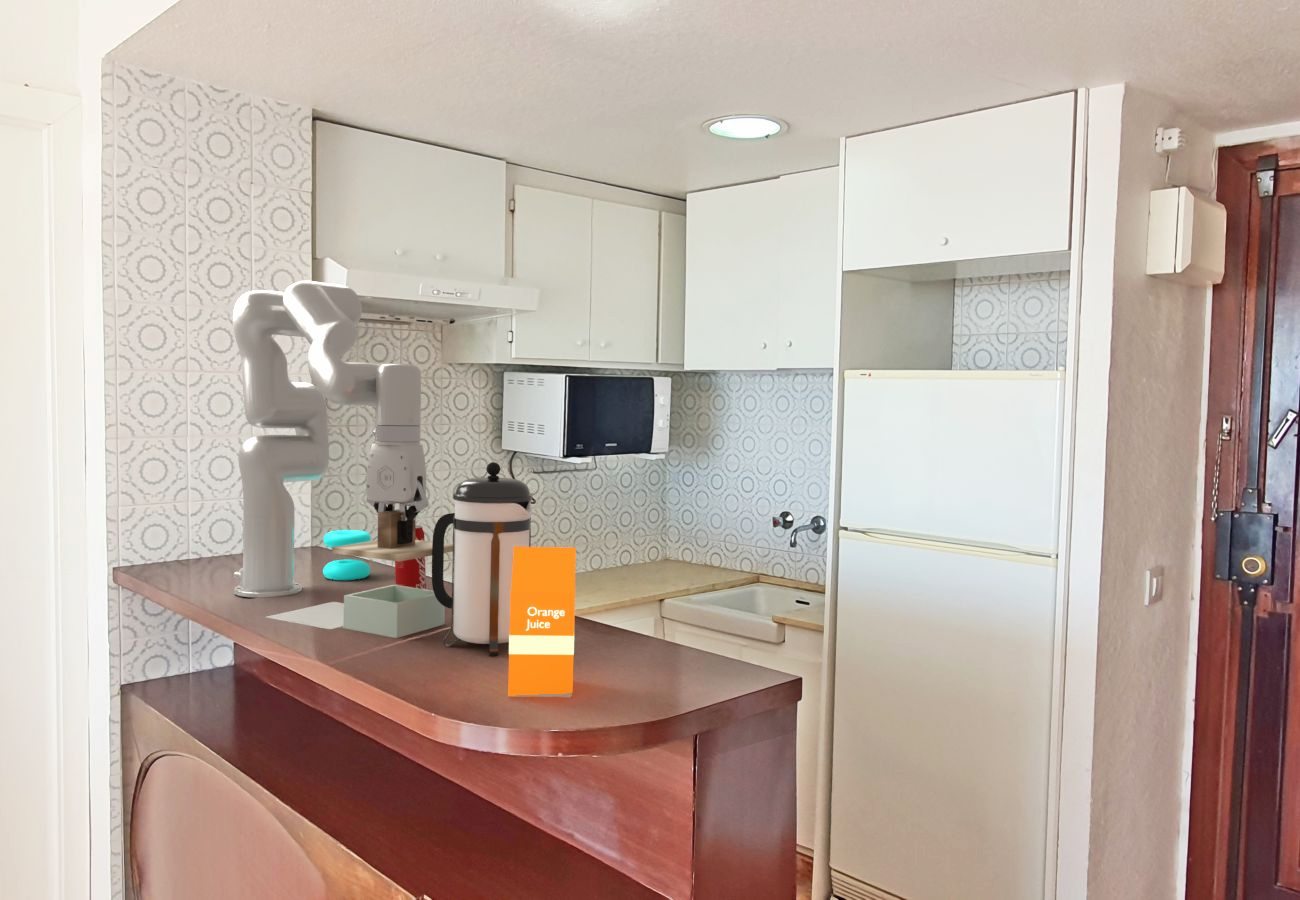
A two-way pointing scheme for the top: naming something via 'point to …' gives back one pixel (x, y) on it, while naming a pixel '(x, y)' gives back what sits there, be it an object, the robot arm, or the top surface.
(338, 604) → the mat
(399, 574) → the beverage can
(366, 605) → the dish
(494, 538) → the coffee press
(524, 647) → the orange juice
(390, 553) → the lid
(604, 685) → the top surface
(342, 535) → the donuts
